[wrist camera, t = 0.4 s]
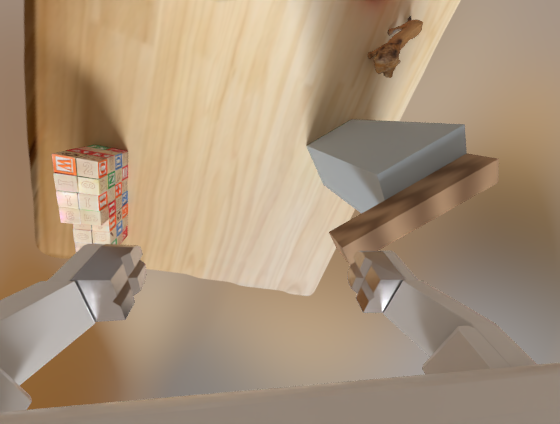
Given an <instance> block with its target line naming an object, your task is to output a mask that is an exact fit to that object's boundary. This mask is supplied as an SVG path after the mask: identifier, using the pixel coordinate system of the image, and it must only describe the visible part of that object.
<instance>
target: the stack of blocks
mask: <svg viewBox="0 0 560 424" xmlns="http://www.w3.org/2000/svg"><path fill="white" fill-rule="evenodd" d="M52 160H53V167H54V172H55V173H54V174H53V175H54V181H55V187H56V190H57V191H56V196H57V201H58V206H59V213H60V219H61V223H72V224H73V235H74V242H75V248H76V252H78V251H79V250H80V249H81V248H82V247H83V246H84V245H86V244H118V245H120V244H121V243H122V241H123V240H124V239H125V238H126V237H127V225H128V203H127V202H128V199H127V198H128V191H127V178H128V151H125V150H120V149H115V148H109V147H104V146H99V145H91V146H86V147H81V148H77V149H76V148H75V149H70V150H66V151H63V152H57V153H53V154H52Z"/></svg>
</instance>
